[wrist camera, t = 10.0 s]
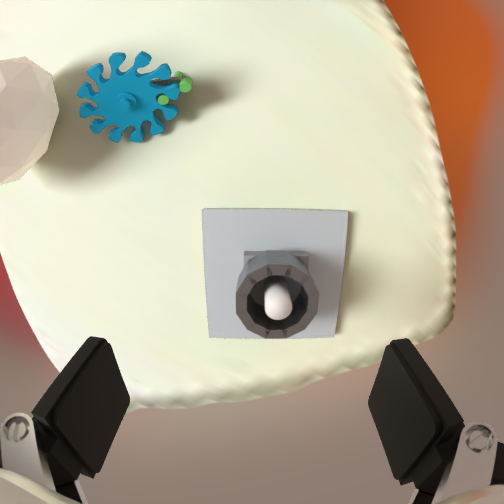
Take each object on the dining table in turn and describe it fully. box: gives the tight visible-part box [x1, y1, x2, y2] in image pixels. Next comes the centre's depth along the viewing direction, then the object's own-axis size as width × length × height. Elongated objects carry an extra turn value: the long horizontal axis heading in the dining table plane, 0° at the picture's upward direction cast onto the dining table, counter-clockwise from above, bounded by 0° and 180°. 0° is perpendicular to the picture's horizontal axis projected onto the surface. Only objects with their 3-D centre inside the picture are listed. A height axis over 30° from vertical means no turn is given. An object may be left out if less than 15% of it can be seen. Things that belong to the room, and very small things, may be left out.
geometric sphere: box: [0, 57, 60, 185], centre depth 18 cm, size 14×15×15 cm
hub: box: [235, 250, 319, 339], centre depth 25 cm, size 7×7×4 cm
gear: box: [77, 51, 192, 143], centre depth 22 cm, size 11×6×10 cm
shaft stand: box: [202, 208, 348, 339], centre depth 26 cm, size 14×14×7 cm
